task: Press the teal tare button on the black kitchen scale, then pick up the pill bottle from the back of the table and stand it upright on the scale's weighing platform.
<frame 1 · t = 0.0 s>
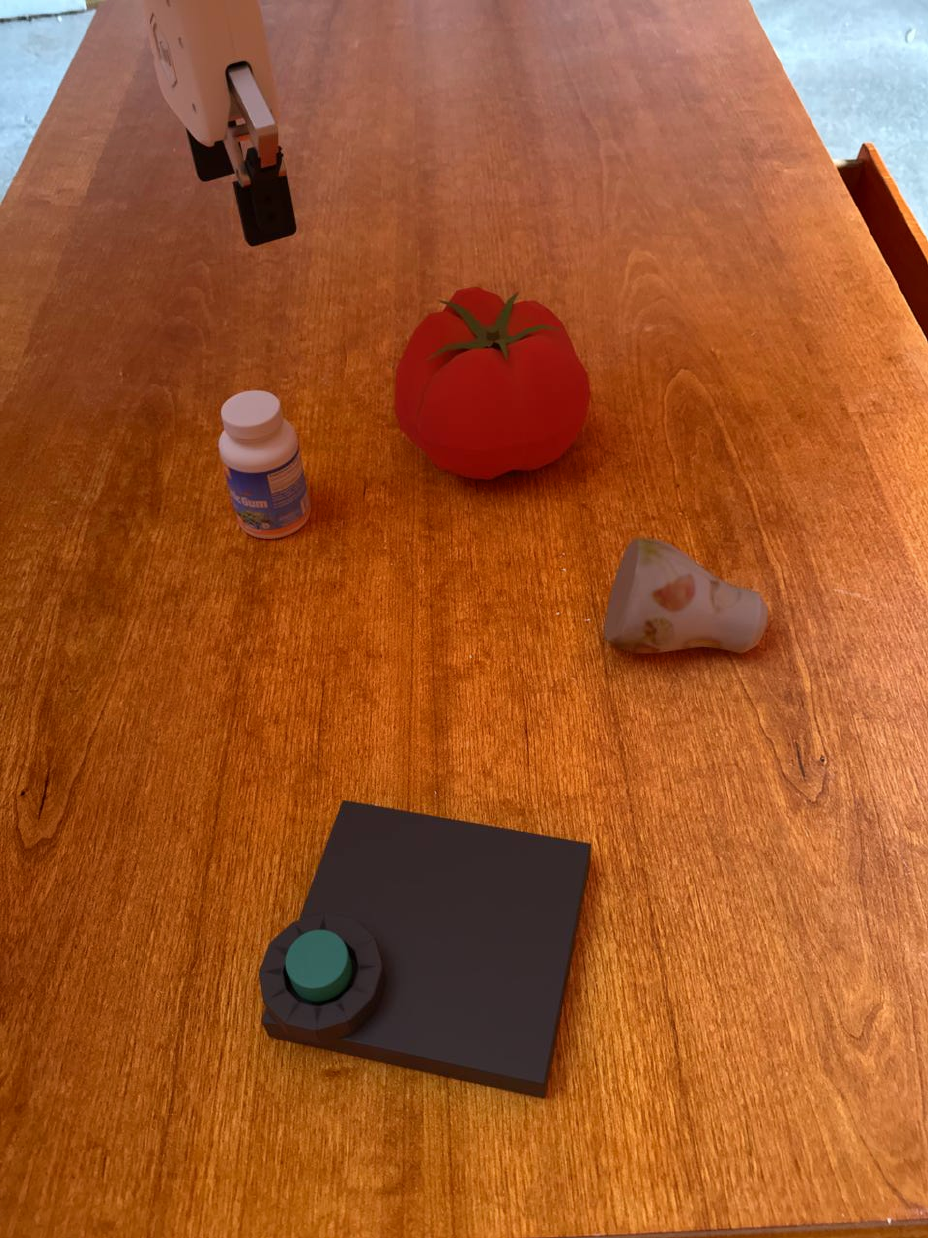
hand: (246, 205, 73), 20 cm above the table, tool pointing down, fingers open, 9 cm apart
scale: (436, 945, 59), on the table
white floral vase: (682, 635, 73), on the table
pill bottle: (276, 517, 83), on the table
tomato: (493, 451, 87), on the table
tare button: (319, 965, 55), point 4 cm above the table, slide at 0.1 cm
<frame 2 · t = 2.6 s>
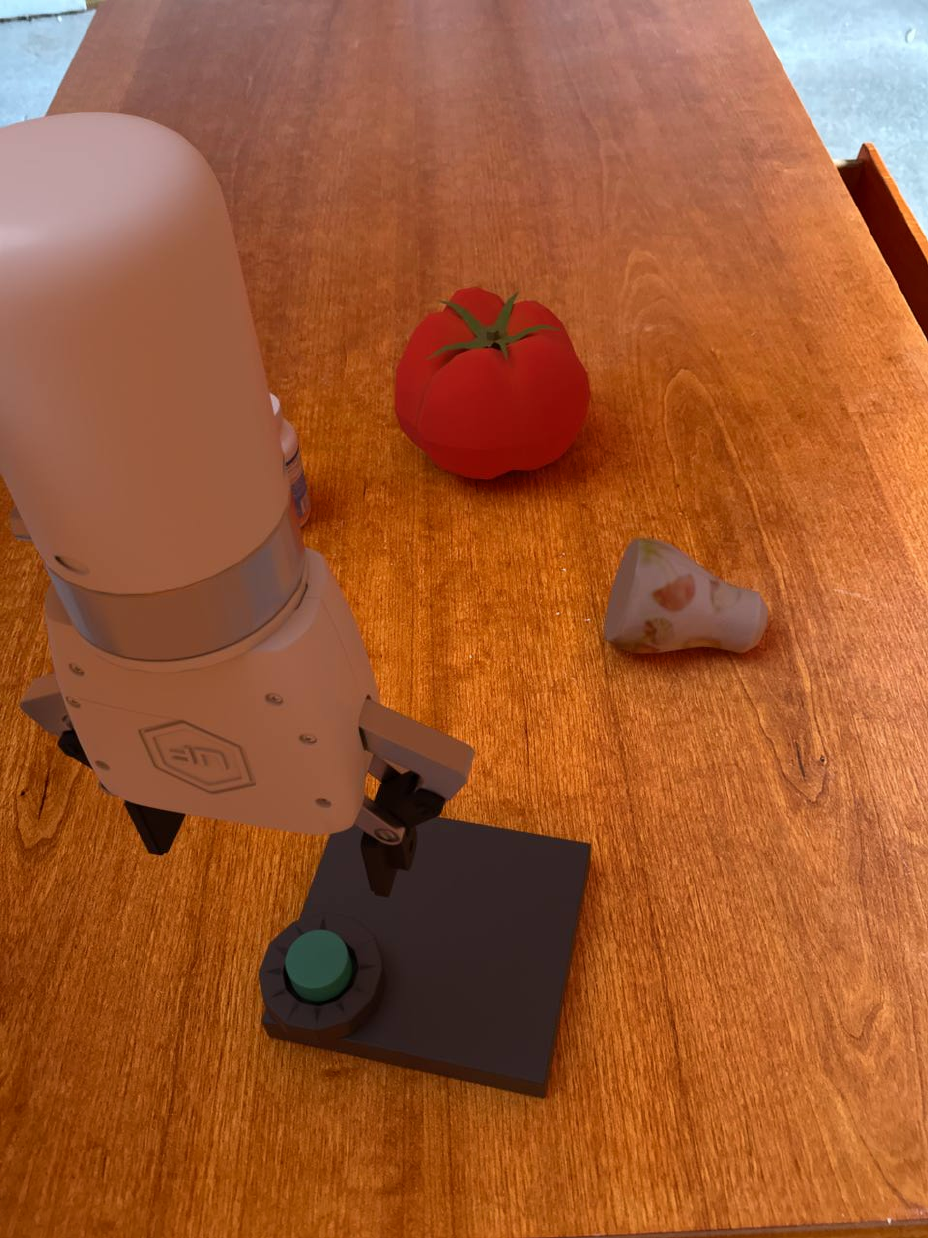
hand: (279, 845, 47), 14 cm above the table, tool pointing down, fingers open, 9 cm apart
nothing on the table moved.
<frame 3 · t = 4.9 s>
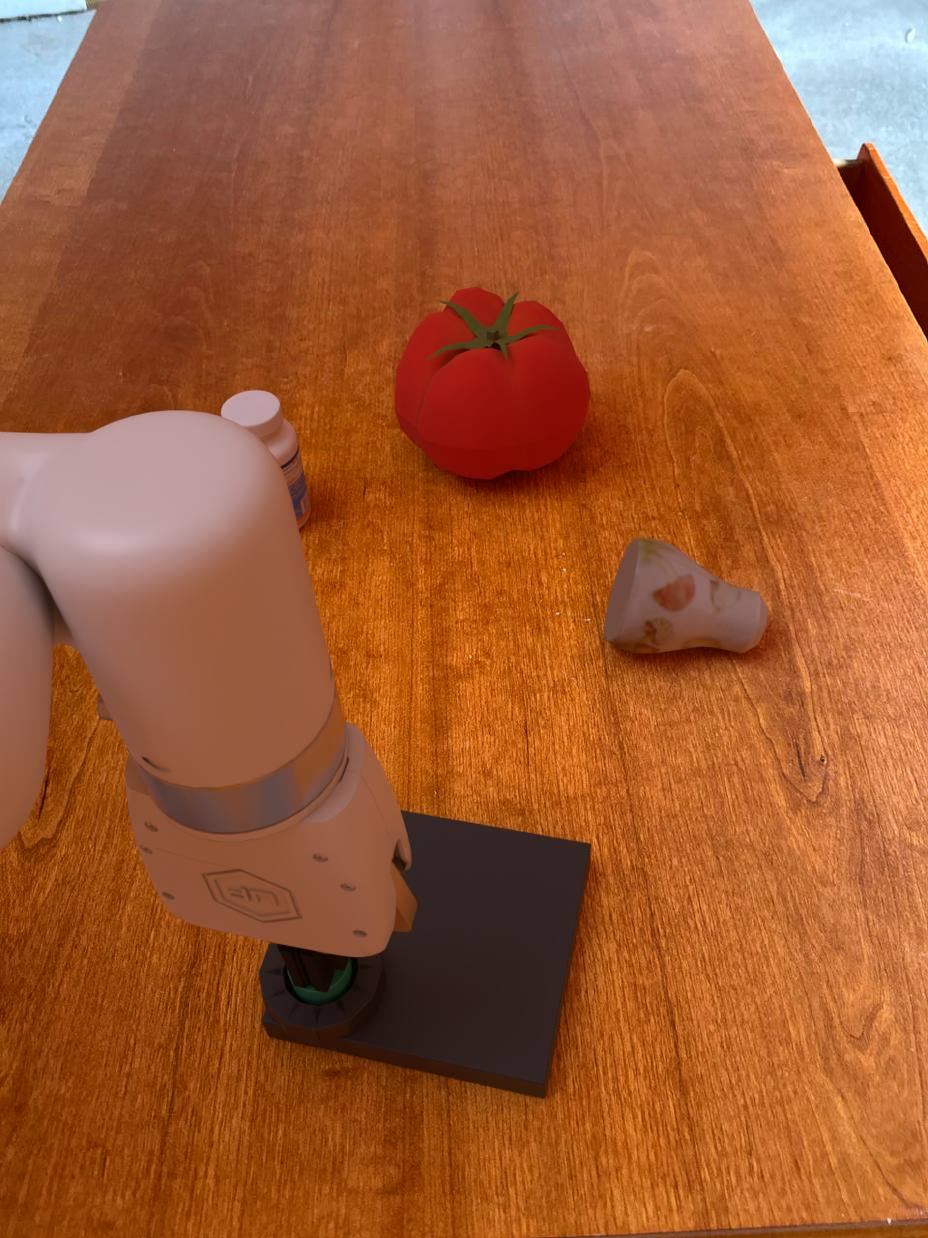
hand: (321, 960, 55), 4 cm above the table, tool pointing down, fingers closed
tare button: (320, 969, 55), point 4 cm above the table, slide at -0.3 cm, touching gripper
everything else where it was.
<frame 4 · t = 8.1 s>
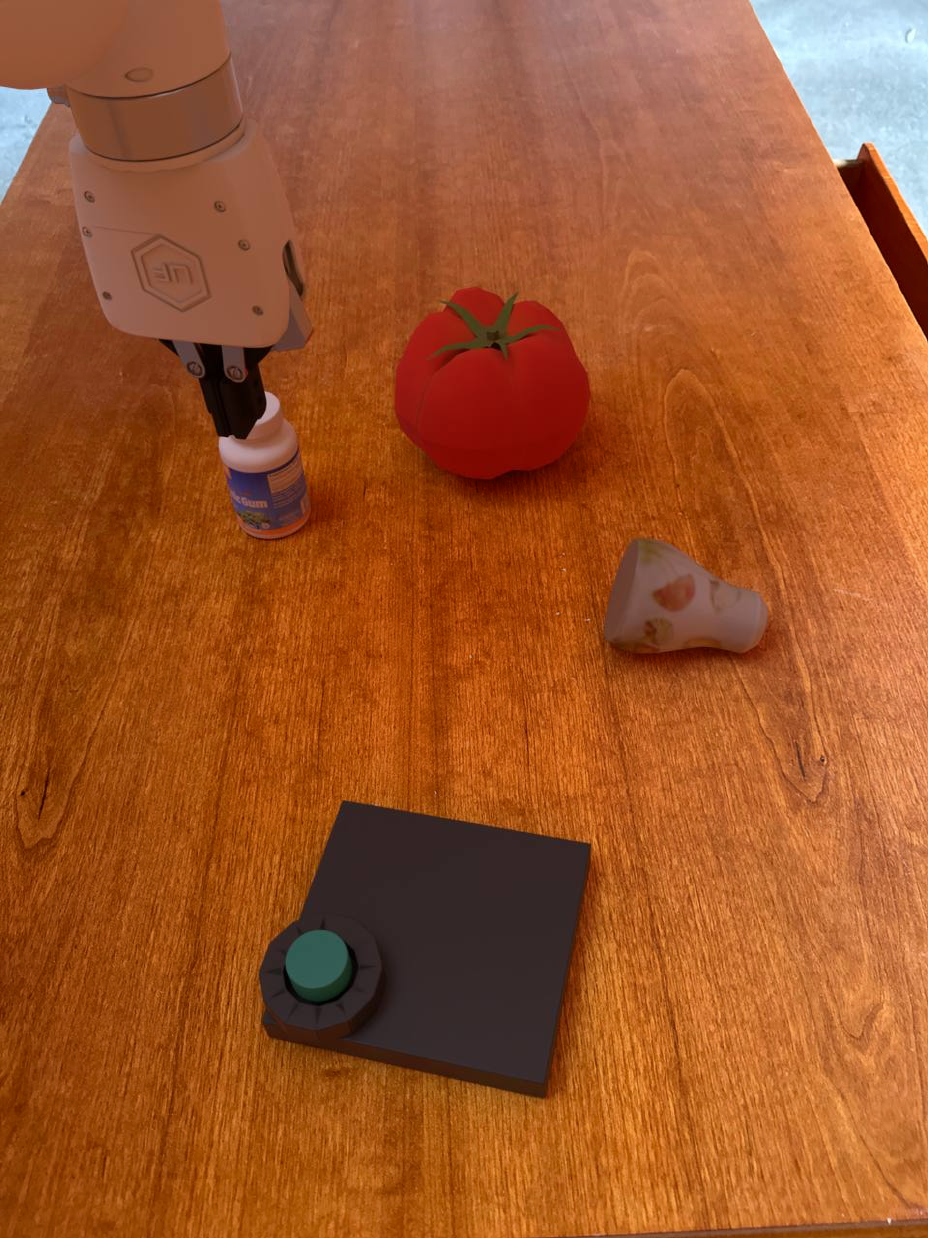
hand: (241, 422, 66), 15 cm above the table, tool pointing down, fingers closed
tare button: (319, 965, 55), point 4 cm above the table, slide at 0.1 cm
everything else where it was.
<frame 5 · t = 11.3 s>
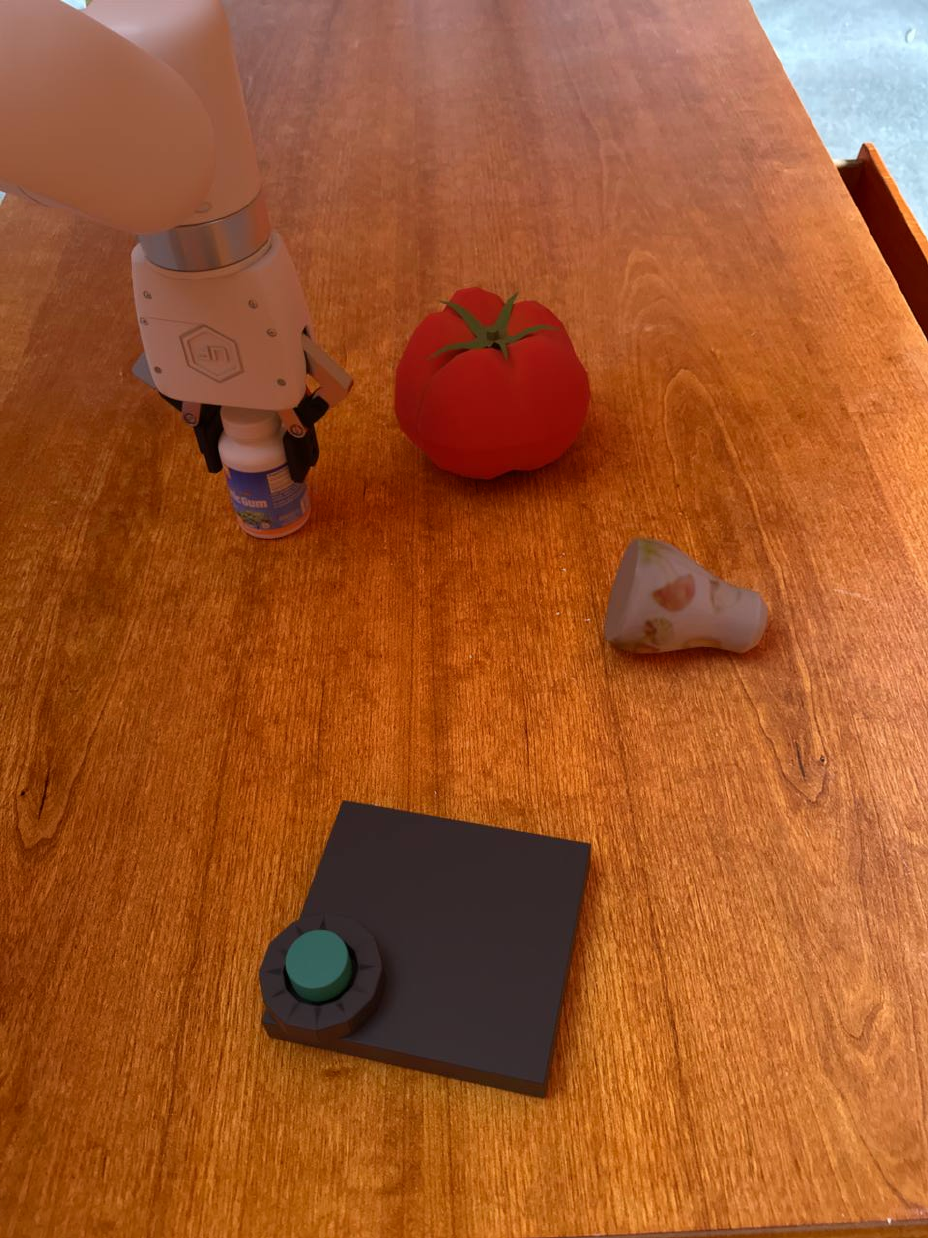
hand: (262, 463, 79), 5 cm above the table, tool pointing down, fingers closed on pill bottle, 5 cm apart
pill bottle: (276, 517, 83), on the table, touching gripper
everything else where it was.
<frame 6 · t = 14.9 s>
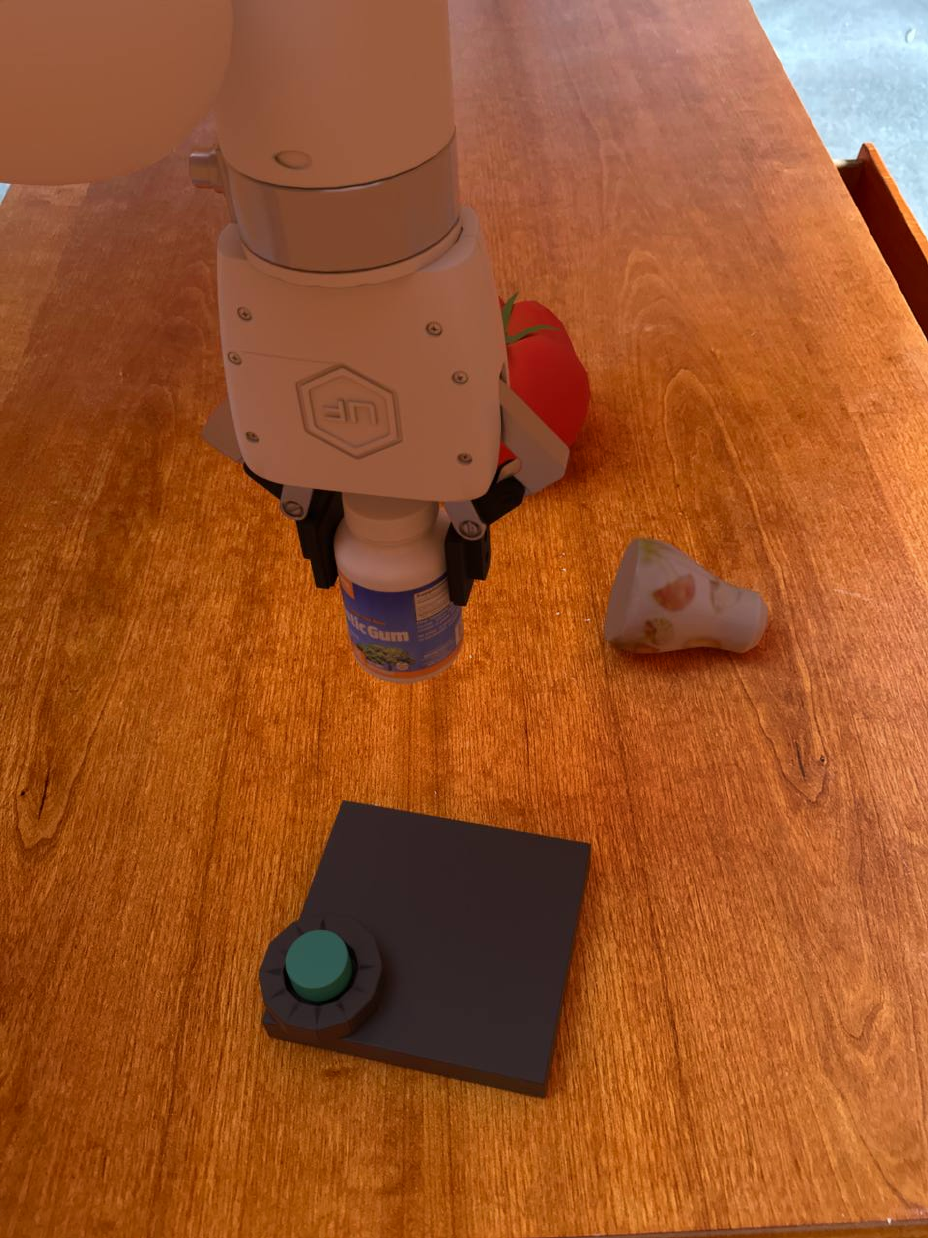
hand: (399, 572, 51), 19 cm above the table, tool pointing down, fingers closed on pill bottle, 5 cm apart
pill bottle: (409, 646, 55), point 14 cm above the table, touching gripper
everything else where it was.
when the fingers open (7 cm above the table, at t = 18.8 s): pill bottle stays where it is, resting on scale.
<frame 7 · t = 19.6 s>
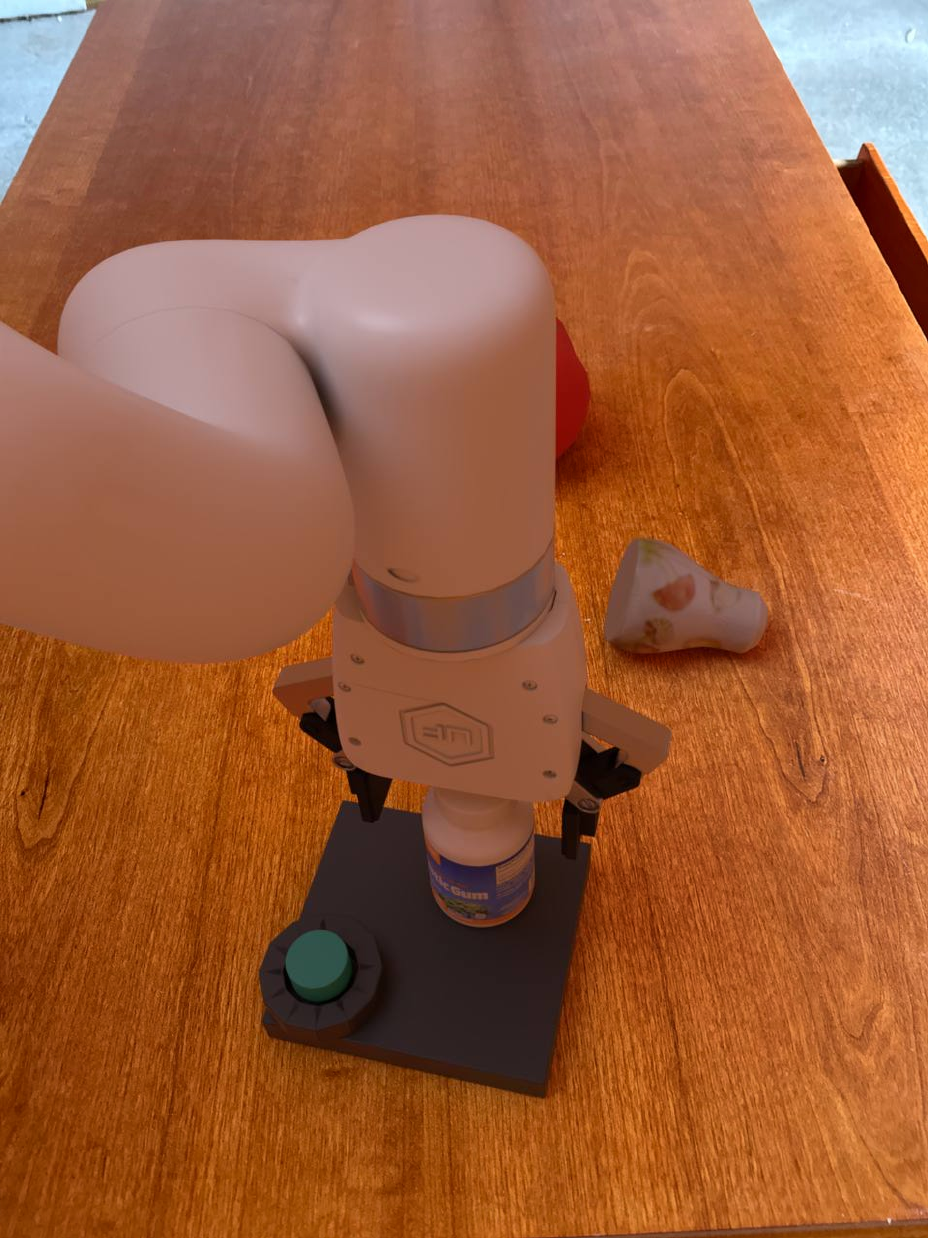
hand: (475, 815, 55), 9 cm above the table, tool pointing down, fingers open, 9 cm apart
pill bottle: (483, 885, 60), point 2 cm above the table, touching scale
everything else where it was.
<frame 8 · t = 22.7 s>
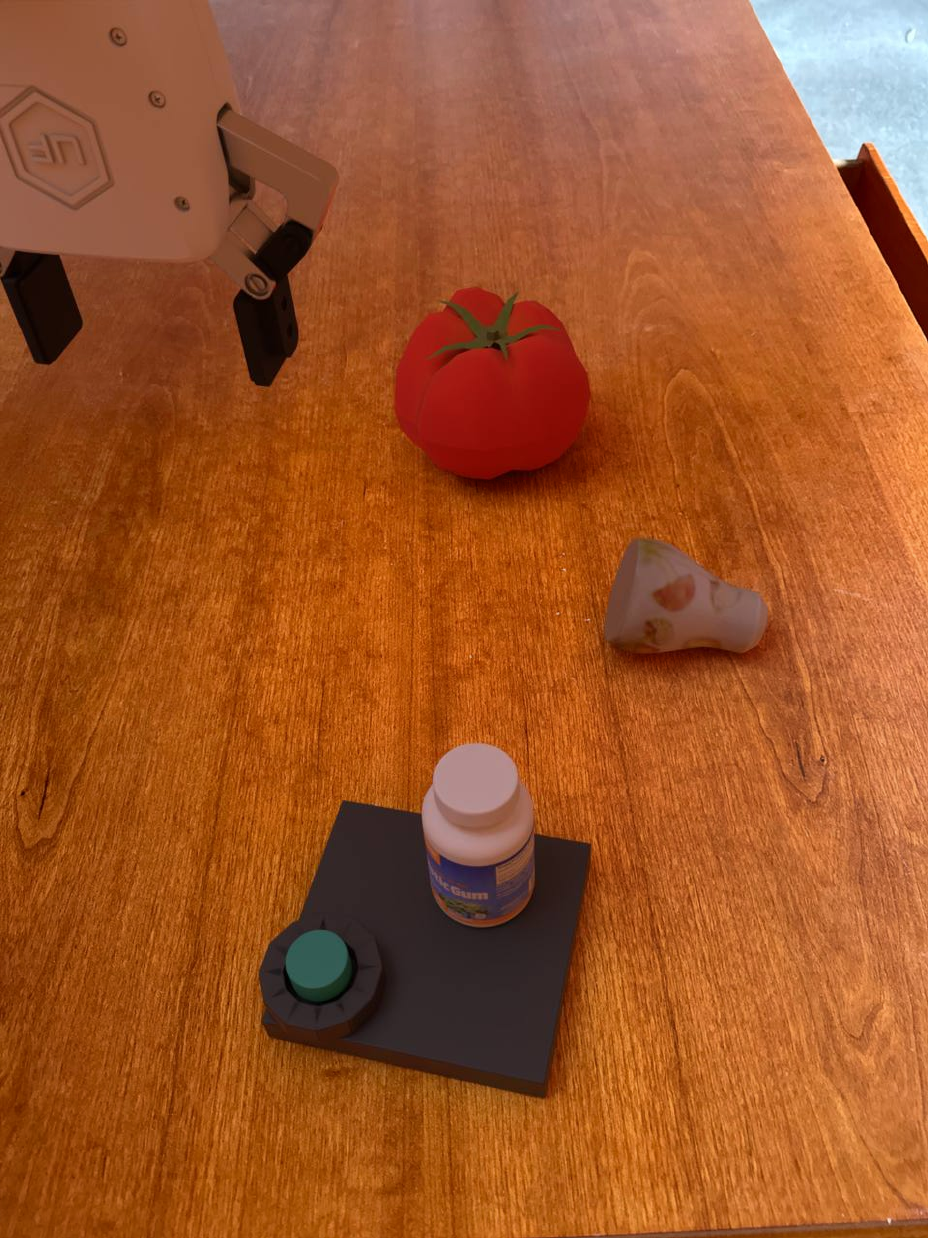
hand: (165, 355, 47), 28 cm above the table, tool pointing down, fingers open, 9 cm apart
nothing on the table moved.
at the end: tare button pushed in 0.9 cm at the most during the clip, back to where it started at the end; pill bottle inside the target area on the scale (2.3 cm from its centre), point 1.7 cm above the scale's base; pill bottle tilted 0° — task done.
